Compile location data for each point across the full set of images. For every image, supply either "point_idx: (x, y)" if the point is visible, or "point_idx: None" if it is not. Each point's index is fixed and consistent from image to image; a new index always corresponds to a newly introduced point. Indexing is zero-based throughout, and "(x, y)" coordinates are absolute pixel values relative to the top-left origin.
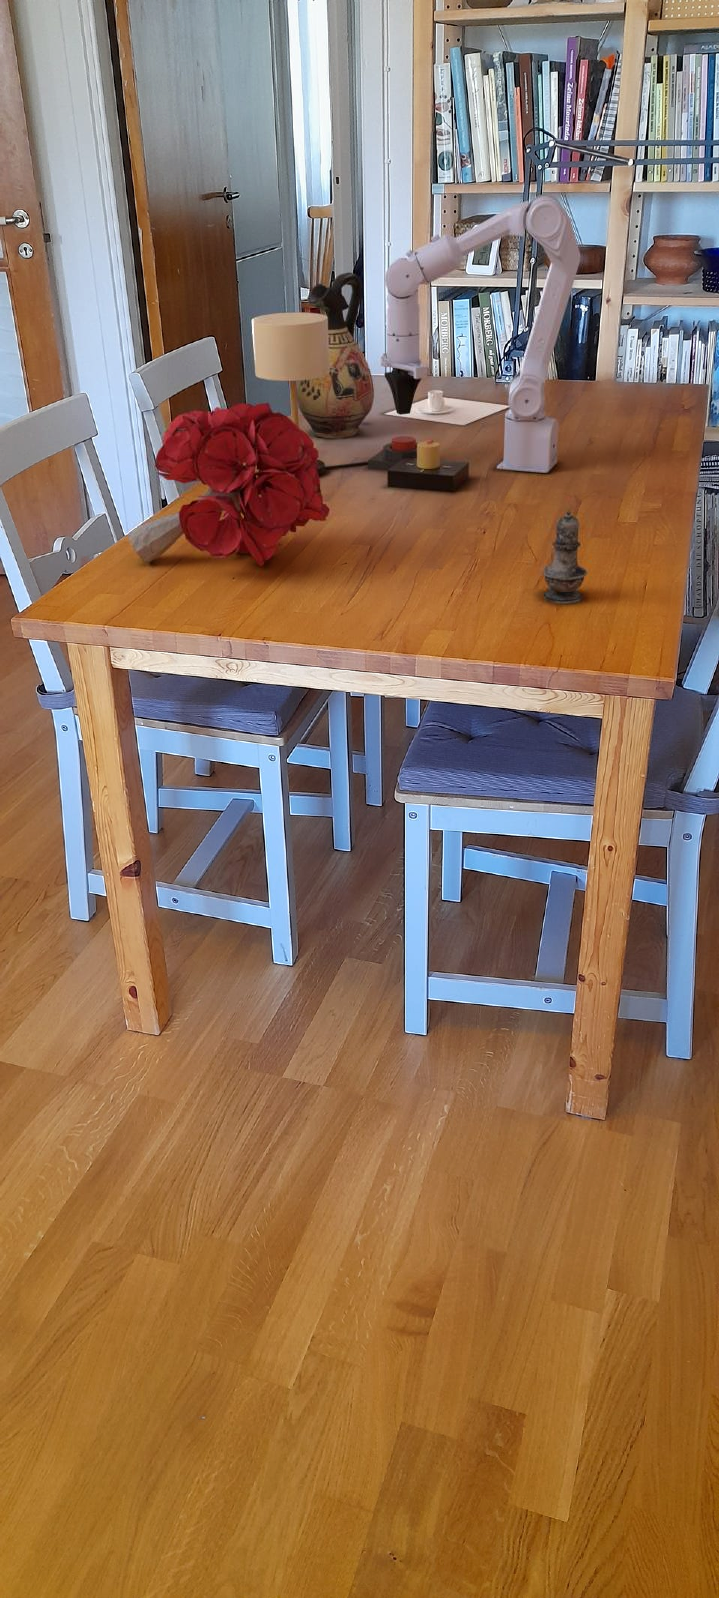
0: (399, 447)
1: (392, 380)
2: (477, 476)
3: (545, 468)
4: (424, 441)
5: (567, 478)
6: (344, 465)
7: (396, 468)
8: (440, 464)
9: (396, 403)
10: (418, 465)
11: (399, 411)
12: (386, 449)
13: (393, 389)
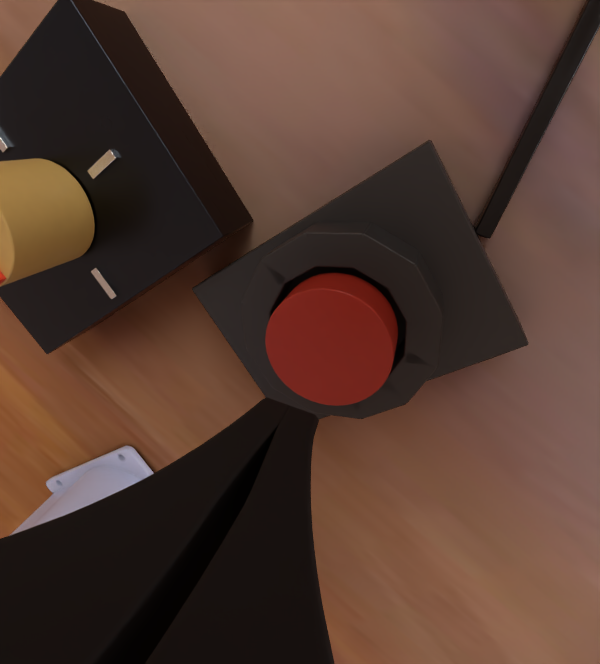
0: (301, 285)
1: (42, 619)
2: (104, 367)
3: (55, 491)
4: (11, 251)
5: (7, 473)
6: (569, 36)
7: (77, 61)
8: (58, 265)
9: (260, 443)
10: (37, 159)
11: (255, 405)
12: (355, 237)
13: (223, 545)
